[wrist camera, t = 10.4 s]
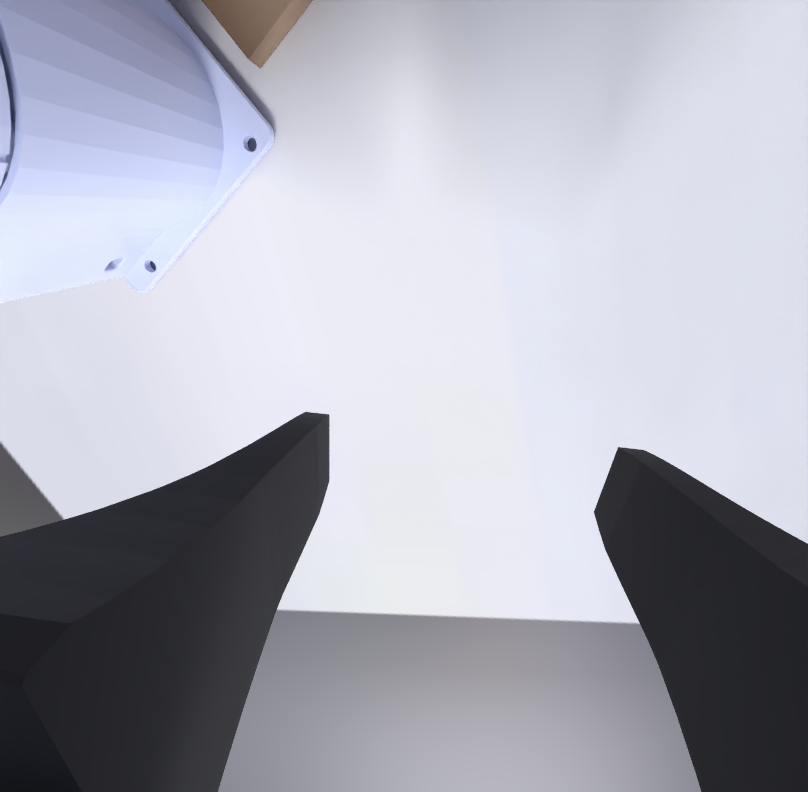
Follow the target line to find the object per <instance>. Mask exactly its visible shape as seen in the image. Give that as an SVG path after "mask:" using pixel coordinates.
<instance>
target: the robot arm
mask: <svg viewBox="0 0 808 792" xmlns="http://www.w3.org/2000/svg"><path fill="white" fill-rule="evenodd" d="M252 137H253V138H254V139H255V141H256V144H257V147H256V149H255V151H253V152H251V151H250V150H249V148H248V141H249V139H250V138H252ZM274 138H275V136H274V131H273V129H272V127H271V125H270V124H269V123H268V122H267V120H266V119H265V118H264V117H263V116H262V114H261V113H260V112H259V111H258V109H257V108H256V107H255V106H254V105H253V103H252V102H251V101H250V100H249V98H248V97H247V96H246V95H245V94H244V92H243V91H242V90H241V89H240V87H239V86H238V85H237V84H236V83H235V81H234V80H233V79H232V78H231V76H230V75H229V74H228V73H227V72H226V70H225V69H224V68H223V67H222V66H221V64H220V63H219V62H218V61H217V59H216V58H215V57H214V56H213V55H212V53H211V52H210V51H209V50H208V48H207V47H206V46H205V45H204V44H203V42H202V41H201V40H200V39H199V37H198V36H197V35H196V34H195V33H194V31H193V30H192V29H191V28H190V26H189V25H188V24H187V23H186V22H185V20H184V19H183V18H182V17H181V16H180V14H179V13H178V12H177V11H176V9H175V8H174V7H173V6H172V5H171V3H170V2H169V1H168V0H0V303H4V302H9V301H14V300H18V299H23V298H28V297H33V296H37V295H42V294H47V293H51V292H56V291H61V290H65V289H70V288H75V287H80V286H84V285H89V284H94V283H98V282H103V281H108V280H112V279H117V278H123V279H124V280H125V281H126V282H127V283H128V284H129V285H130V286H131V287H132V288H133V289H135V290H136V291H139V292H146V291H149V290H151V289H152V288H153V287H154V286H155V285H156V283H157V282H158V281H159V280H160V279H161V278H162V276H163V275H164V274H165V273H166V272H167V270H168V269H169V268H170V267H171V266H172V264H173V263H174V262H175V261H176V260H177V259H178V257H179V256H180V255H181V254H182V253H183V251H184V250H185V249H186V248H187V247H188V245H189V244H190V243H191V242H192V241H193V240H194V238H195V237H196V236H197V235H198V234H199V232H200V231H201V230H202V229H203V228H204V226H205V225H206V224H207V223H208V222H209V220H210V219H211V218H212V217H213V216H214V215H215V213H216V212H217V211H218V210H219V209H220V207H221V206H222V205H223V204H224V203H225V201H226V200H227V199H228V198H229V197H230V196H231V194H232V193H233V192H234V191H235V190H236V188H237V187H238V186H239V185H240V184H241V182H242V181H243V180H244V179H245V178H246V177H247V175H248V174H249V173H250V172H251V171H252V169H253V168H254V167H255V166H256V165H257V163H258V162H259V161H260V160H261V159H262V158H263V156H264V155H265V154H266V153H267V152H268V150H269V149H270V148H271V147H272V145H273V143H274ZM151 261H152V262H154V264H155V265H156V270H153V269H152V267H151V265H150V262H151ZM328 483H329V415H328V414H319V413H310V412H305V413H303V414H301V415H299V416H297V417H295V418H294V419H292V420H290V421H289V422H287V423H285V424H284V425H282V426H280V427H279V428H277V429H275V430H274V431H272V432H270V433H269V434H267V435H265V436H263V437H262V438H260V439H258V440H257V441H255V442H253V443H252V444H250V445H248V446H246V447H244V448H242V449H241V450H239V451H237V452H235V453H233V454H231V455H229V456H227V457H225V458H224V459H222V460H220V461H218V462H216V463H214V464H212V465H210V466H208V467H206V468H204V469H202V470H200V471H197V472H195V473H193V474H191V475H189V476H186V477H184V478H182V479H179V480H177V481H174V482H172V483H170V484H167V485H165V486H163V487H160V488H157V489H155V490H152V491H149V492H147V493H144V494H141V495H138V496H135V497H133V498H130V499H127V500H124V501H121V502H118V503H116V504H113V505H110V506H107V507H104V508H101V509H98V510H95V511H92V512H89V513H85V514H82V515H79V516H75V517H72V518H69V519H65V520H62V521H59V522H55V523H51V524H48V525H44V526H40V527H37V528H33V529H30V530H26V531H22V532H18V533H14V534H10V535H6V536H2V537H0V792H218V789H219V786H220V782H221V779H222V775H223V772H224V769H225V765H226V762H227V759H228V756H229V752H230V749H231V746H232V743H233V739H234V736H235V733H236V730H237V727H238V724H239V720H240V717H241V713H242V711H243V708H244V705H245V701H246V698H247V695H248V692H249V689H250V686H251V683H252V680H253V677H254V674H255V671H256V668H257V664H258V662H259V659H260V656H261V653H262V650H263V647H264V644H265V641H266V638H267V635H268V632H269V629H270V626H271V624H272V621H273V618H274V615H275V612H276V610H277V607H278V605H279V602H280V600H281V598H282V595H283V593H284V590H285V588H286V586H287V584H288V582H289V580H290V577H291V575H292V573H293V571H294V569H295V566H296V564H297V562H298V560H299V558H300V555H301V553H302V551H303V549H304V547H305V544H306V542H307V540H308V538H309V536H310V533H311V531H312V529H313V527H314V524H315V522H316V520H317V518H318V515H319V513H320V509H321V506H322V503H323V500H324V497H325V493H326V490H327V486H328ZM594 514H595V517H596V521H597V524H598V528H599V531H600V534H601V537H602V541H603V544H604V547H605V550H606V552H607V554H608V556H609V559H610V561H611V563H612V565H613V567H614V569H615V572H616V574H617V576H618V578H619V580H620V582H621V585H622V587H623V589H624V591H625V593H626V595H627V597H628V599H629V601H630V603H631V606H632V608H633V610H634V612H635V614H636V616H637V618H638V620H639V622H640V625H641V627H642V629H643V631H644V633H645V635H646V637H647V639H648V641H649V644H650V646H651V648H652V651H653V653H654V655H655V658H656V660H657V662H658V665H659V668H660V670H661V673H662V676H663V679H664V681H665V684H666V687H667V690H668V692H669V695H670V698H671V701H672V703H673V706H674V709H675V712H676V714H677V717H678V720H679V723H680V726H681V729H682V733H683V735H684V739H685V742H686V745H687V748H688V750H689V754H690V757H691V760H692V763H693V766H694V769H695V772H696V775H697V778H698V782H699V785H700V788H701V792H808V544H807V543H805V542H803V541H801V540H800V539H798V538H796V537H794V536H792V535H791V534H789V533H787V532H785V531H783V530H782V529H780V528H778V527H776V526H774V525H773V524H771V523H769V522H767V521H765V520H764V519H762V518H760V517H758V516H757V515H755V514H753V513H752V512H750V511H748V510H746V509H745V508H743V507H741V506H740V505H738V504H736V503H735V502H733V501H731V500H730V499H728V498H726V497H725V496H723V495H721V494H720V493H718V492H716V491H715V490H713V489H711V488H710V487H708V486H706V485H705V484H703V483H701V482H700V481H698V480H697V479H695V478H693V477H692V476H690V475H688V474H687V473H685V472H683V471H682V470H680V469H678V468H677V467H675V466H673V465H671V464H670V463H668V462H666V461H664V460H663V459H661V458H659V457H657V456H655V455H653V454H651V453H649V452H647V451H644V450H638V449H629V448H620V447H618V449H617V452H616V455H615V457H614V460H613V463H612V465H611V468H610V471H609V473H608V476H607V479H606V481H605V484H604V487H603V489H602V492H601V495H600V497H599V500H598V503H597V505H596V508H595V511H594Z"/></svg>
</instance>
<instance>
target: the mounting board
mask: <svg viewBox="0 0 808 792" xmlns="http://www.w3.org/2000/svg"><path fill="white" fill-rule="evenodd" d="M202 1H203V2H204V4H205V5H206V6H207V7H208V9H209V10H210V11H211V12H212V14H213V15H214V16H215V17H216V19H217V20H218V21H219V23H220V24H221V25H222V26H223V28H224V29H225V30H226V31H227V33H228V34H229V35H230V36H231V38H232V39H233V40H234V41H235V43H236V44H237V45H238V46H239V48H240V49H241V50H242V51H243V53H244V54H245V55H246V56H247V58H248V59H249V60H250V61H252V62H253V63H254V64H256V65H257V66H258V67H259V68H261V67H262V66H263V64H264V63H265V62H266V60H267V59H268V58H269V56H270V55H271V54H272V53H273V51H274V50H275V49H276V47H277V46H278V45H279V43H280V42H281V41H282V39H283V38H284V37H285V36H286V34H287V33H288V32H289V30H290V29H291V28H292V26H293V25H294V24H295V22H296V21H297V20H298V18H299V17H300V16H301V15H302V13H303V12H304V11H305V9H306V8H307V7H308V5H309V4H310V3H311V1H312V0H202Z"/></svg>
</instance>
